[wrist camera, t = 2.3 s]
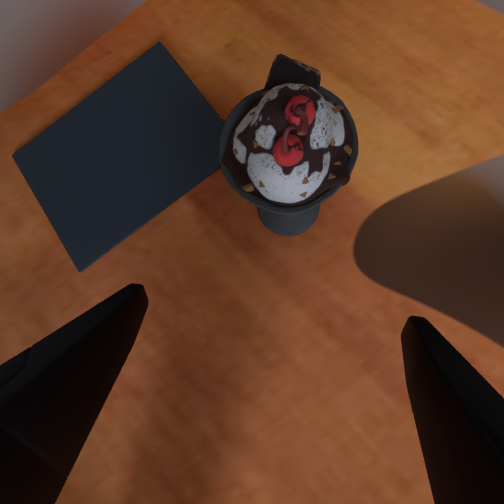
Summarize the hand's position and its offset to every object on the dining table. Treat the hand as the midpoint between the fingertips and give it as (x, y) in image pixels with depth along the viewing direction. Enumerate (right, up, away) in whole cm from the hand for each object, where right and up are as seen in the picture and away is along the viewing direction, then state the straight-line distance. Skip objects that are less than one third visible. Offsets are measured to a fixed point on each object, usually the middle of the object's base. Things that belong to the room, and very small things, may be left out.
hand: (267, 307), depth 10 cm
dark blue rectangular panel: (-12, +11, +17) cm, 24 cm away
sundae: (+3, +6, +14) cm, 15 cm away
